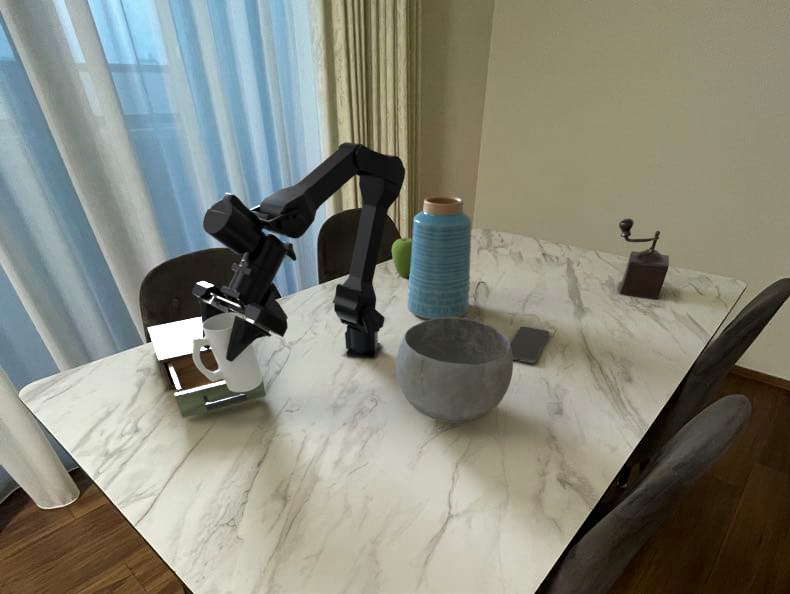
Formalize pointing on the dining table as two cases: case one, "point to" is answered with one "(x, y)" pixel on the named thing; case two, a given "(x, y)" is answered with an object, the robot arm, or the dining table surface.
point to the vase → (440, 259)
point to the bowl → (454, 368)
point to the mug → (236, 373)
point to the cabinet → (175, 343)
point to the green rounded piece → (402, 255)
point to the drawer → (204, 387)
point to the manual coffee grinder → (643, 267)
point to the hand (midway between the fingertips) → (217, 354)
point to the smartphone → (528, 344)
